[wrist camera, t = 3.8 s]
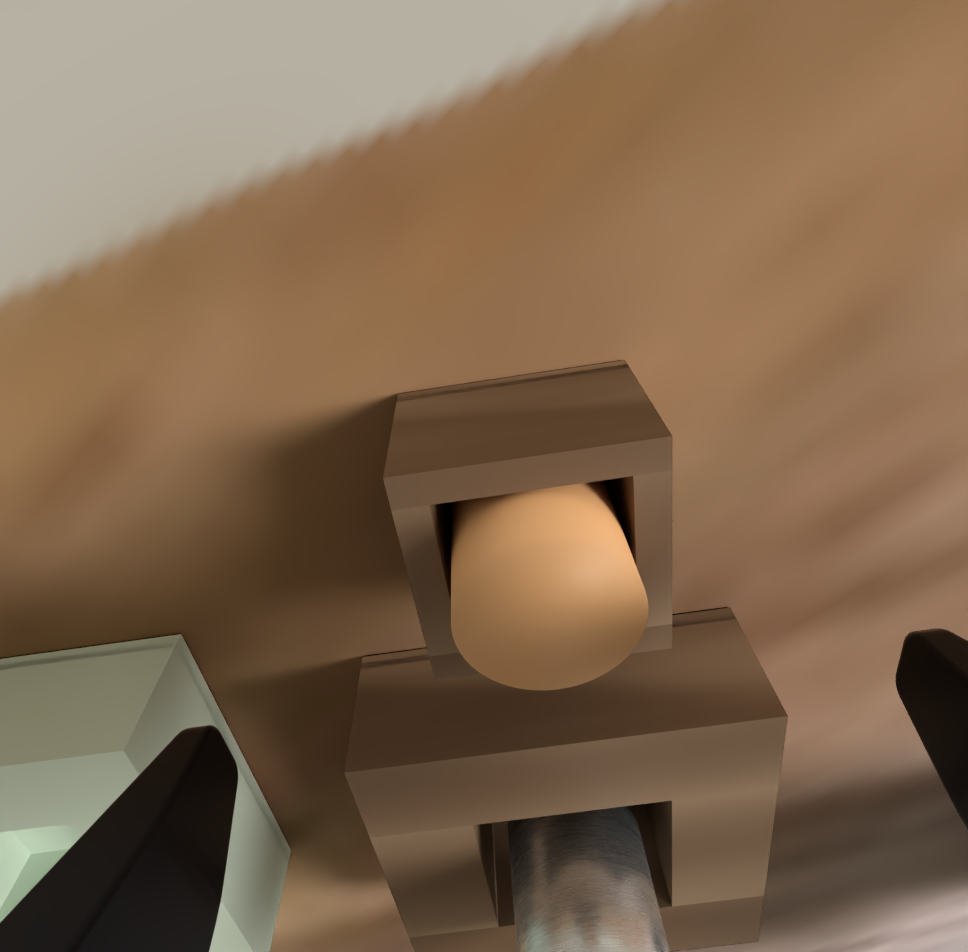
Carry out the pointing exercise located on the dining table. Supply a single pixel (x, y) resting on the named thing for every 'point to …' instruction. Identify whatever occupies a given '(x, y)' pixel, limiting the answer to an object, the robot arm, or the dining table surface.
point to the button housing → (528, 476)
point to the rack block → (120, 769)
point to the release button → (544, 586)
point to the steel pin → (583, 884)
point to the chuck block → (573, 781)
